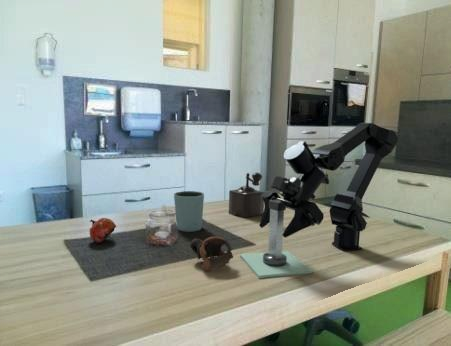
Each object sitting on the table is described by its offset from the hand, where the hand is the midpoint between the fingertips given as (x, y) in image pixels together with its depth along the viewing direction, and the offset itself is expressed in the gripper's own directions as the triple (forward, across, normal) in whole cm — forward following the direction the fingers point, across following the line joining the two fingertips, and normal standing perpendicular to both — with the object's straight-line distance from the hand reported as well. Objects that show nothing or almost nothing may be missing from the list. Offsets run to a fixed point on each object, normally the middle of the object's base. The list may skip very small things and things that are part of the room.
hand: (271, 231), depth 90 cm
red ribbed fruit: (+30, -38, -16) cm, 51 cm away
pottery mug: (+16, -8, -3) cm, 18 cm away
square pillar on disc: (+5, 0, +7) cm, 8 cm away
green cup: (+9, -39, +4) cm, 40 cm away
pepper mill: (-12, -44, +25) cm, 52 cm away
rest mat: (+5, 0, +7) cm, 9 cm away
